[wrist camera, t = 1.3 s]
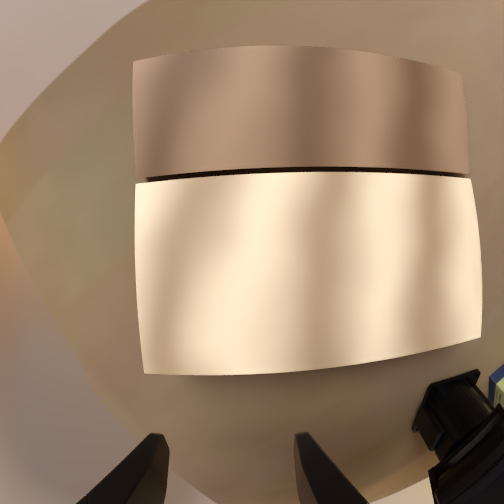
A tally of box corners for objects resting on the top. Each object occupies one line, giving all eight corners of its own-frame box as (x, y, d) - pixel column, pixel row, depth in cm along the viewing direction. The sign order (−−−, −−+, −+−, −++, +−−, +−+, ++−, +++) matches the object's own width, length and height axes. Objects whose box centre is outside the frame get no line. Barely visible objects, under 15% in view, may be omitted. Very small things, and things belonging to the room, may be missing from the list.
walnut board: (449, 77, 14) (461, 73, 13) (456, 172, 16) (469, 174, 15) (141, 69, 15) (133, 61, 13) (145, 177, 16) (136, 178, 15)
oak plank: (457, 184, 16) (470, 178, 15) (467, 333, 16) (480, 337, 14) (145, 191, 16) (135, 183, 15) (153, 365, 16) (144, 373, 14)
